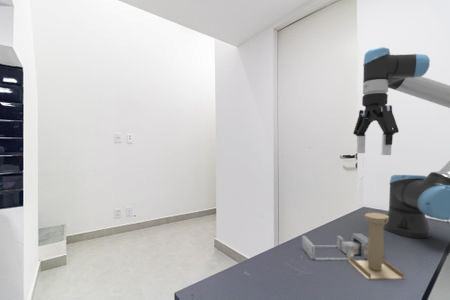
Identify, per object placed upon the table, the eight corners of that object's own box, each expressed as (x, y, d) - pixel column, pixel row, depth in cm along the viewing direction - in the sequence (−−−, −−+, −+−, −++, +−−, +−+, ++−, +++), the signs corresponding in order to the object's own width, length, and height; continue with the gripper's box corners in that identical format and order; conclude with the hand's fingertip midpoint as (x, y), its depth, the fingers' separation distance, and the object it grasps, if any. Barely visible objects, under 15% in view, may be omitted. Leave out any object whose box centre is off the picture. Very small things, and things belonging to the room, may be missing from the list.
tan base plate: (380, 261, 71) (381, 256, 71) (404, 279, 62) (405, 273, 62) (348, 261, 70) (348, 256, 70) (367, 279, 61) (367, 273, 61)
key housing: (364, 248, 80) (365, 233, 80) (379, 258, 73) (380, 242, 72) (350, 248, 80) (351, 233, 79) (363, 258, 72) (364, 242, 72)
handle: (390, 270, 65) (393, 216, 65) (375, 275, 62) (378, 219, 62) (373, 262, 70) (375, 211, 69) (359, 266, 67) (360, 214, 66)
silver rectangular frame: (338, 246, 80) (339, 235, 80) (354, 260, 71) (355, 247, 71) (301, 246, 80) (301, 235, 80) (312, 260, 71) (312, 247, 71)
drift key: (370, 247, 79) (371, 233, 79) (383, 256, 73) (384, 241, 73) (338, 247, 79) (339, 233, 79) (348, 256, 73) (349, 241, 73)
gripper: (345, 100, 96) (343, 152, 97) (390, 85, 71) (387, 155, 72) (363, 100, 96) (361, 152, 97) (414, 86, 71) (411, 156, 72)
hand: (372, 154), depth 84 cm, fingers open, 13 cm apart
